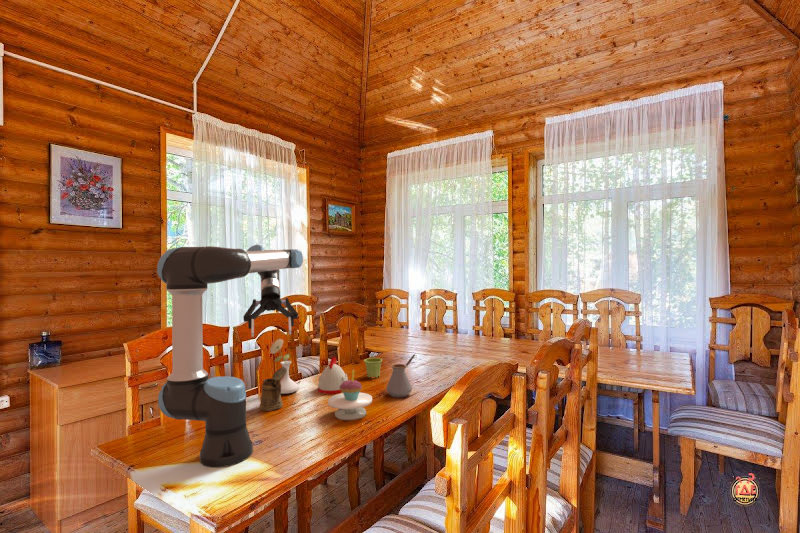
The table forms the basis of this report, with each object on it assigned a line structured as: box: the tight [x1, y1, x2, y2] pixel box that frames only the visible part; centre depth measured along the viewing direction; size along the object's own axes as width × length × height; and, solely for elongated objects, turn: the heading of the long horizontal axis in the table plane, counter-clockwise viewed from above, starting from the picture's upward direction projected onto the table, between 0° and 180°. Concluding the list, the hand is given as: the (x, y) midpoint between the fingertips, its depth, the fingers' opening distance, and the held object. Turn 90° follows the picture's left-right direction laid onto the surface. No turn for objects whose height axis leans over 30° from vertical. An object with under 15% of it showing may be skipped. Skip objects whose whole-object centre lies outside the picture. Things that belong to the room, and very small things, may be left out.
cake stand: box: [327, 391, 373, 421], centre depth 160 cm, size 17×17×6 cm
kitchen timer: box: [317, 356, 349, 395], centre depth 193 cm, size 14×14×15 cm
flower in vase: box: [269, 338, 300, 395], centre depth 189 cm, size 13×11×25 cm
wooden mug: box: [258, 366, 287, 412], centre depth 168 cm, size 9×14×18 cm, turn 50°
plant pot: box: [363, 357, 383, 378], centre depth 213 cm, size 9×9×9 cm
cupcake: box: [340, 368, 363, 401], centre depth 160 cm, size 9×8×12 cm
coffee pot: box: [386, 354, 416, 398], centre depth 187 cm, size 21×12×15 cm, turn 149°
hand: (271, 333), depth 156 cm, fingers open, 13 cm apart
